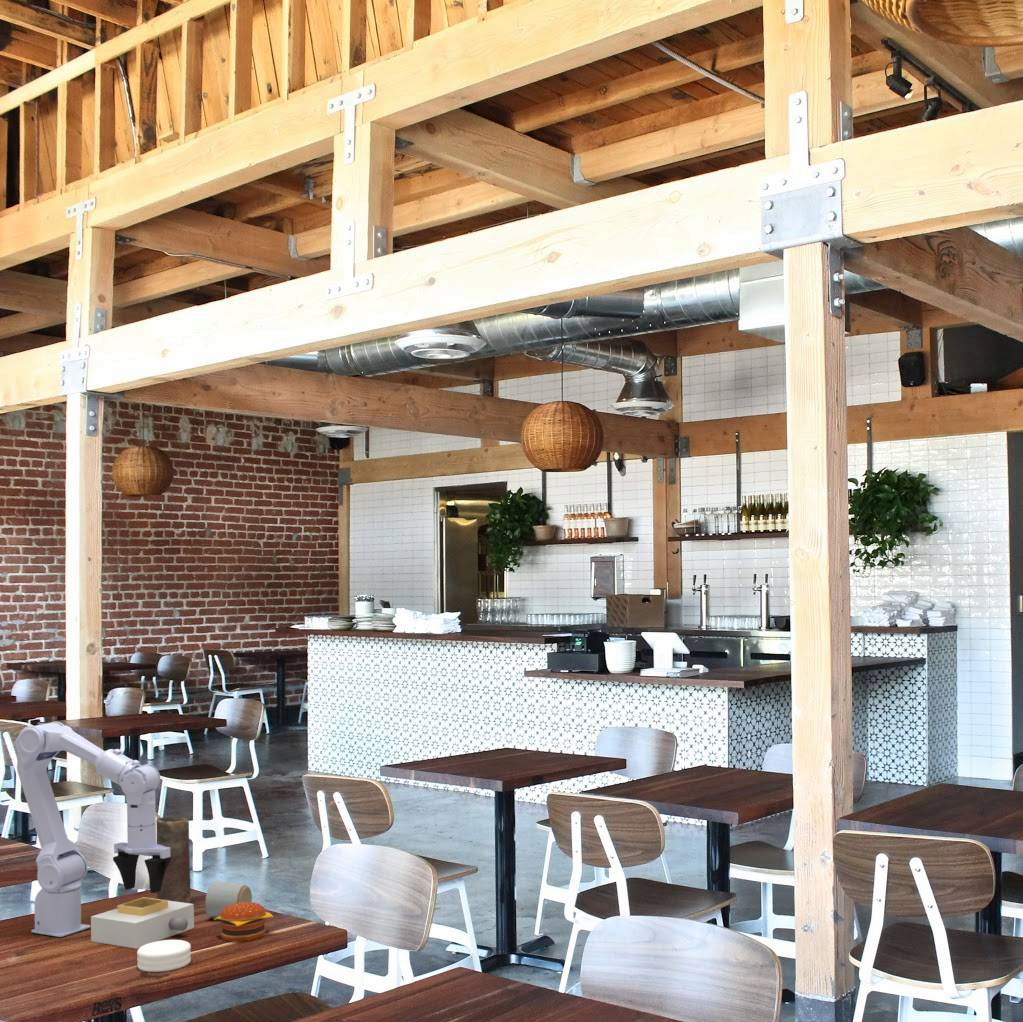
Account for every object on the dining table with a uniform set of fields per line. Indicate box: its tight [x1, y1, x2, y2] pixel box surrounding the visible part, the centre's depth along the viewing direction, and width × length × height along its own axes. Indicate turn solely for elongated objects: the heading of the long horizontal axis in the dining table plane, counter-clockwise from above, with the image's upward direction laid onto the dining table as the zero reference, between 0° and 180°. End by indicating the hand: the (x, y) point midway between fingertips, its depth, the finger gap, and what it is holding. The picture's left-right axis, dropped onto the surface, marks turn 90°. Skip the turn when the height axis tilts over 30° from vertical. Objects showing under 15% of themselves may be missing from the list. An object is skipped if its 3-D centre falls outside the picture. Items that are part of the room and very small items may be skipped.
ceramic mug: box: [204, 880, 253, 919], centre depth 268 cm, size 11×8×8 cm
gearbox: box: [90, 896, 195, 950], centre depth 255 cm, size 16×16×6 cm
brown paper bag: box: [156, 816, 192, 903], centre depth 277 cm, size 8×7×20 cm
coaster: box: [136, 939, 192, 973], centre depth 234 cm, size 10×10×4 cm
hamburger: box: [213, 901, 274, 943], centre depth 252 cm, size 9×10×7 cm
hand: (142, 890), depth 256 cm, fingers open, 7 cm apart
